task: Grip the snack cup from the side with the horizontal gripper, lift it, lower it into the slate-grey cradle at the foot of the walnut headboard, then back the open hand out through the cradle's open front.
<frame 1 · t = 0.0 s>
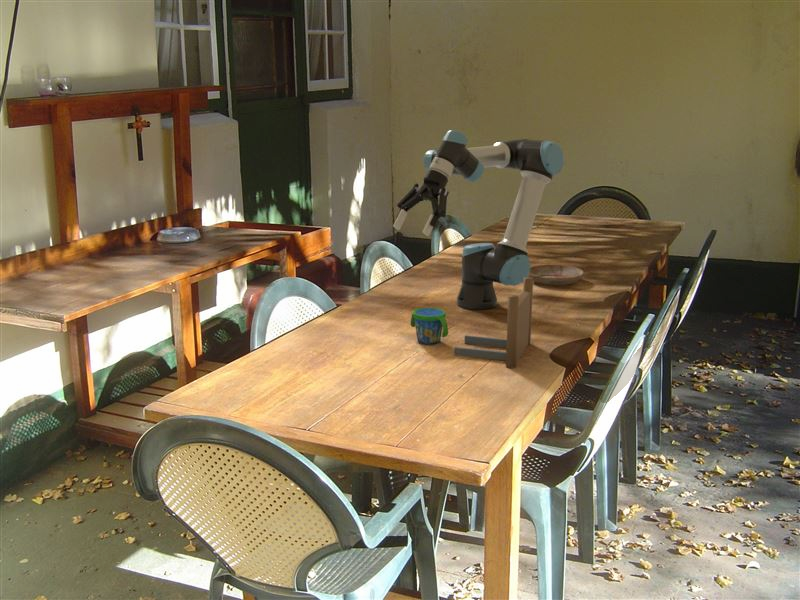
hand: (410, 231, 300), 36 cm above the table, tool tilted 35°, fingers open, 13 cm apart
snack cup: (428, 342, 306), on the table
headboard cradle: (485, 351, 296), on the table
ceramic bowl: (554, 282, 385), on the table
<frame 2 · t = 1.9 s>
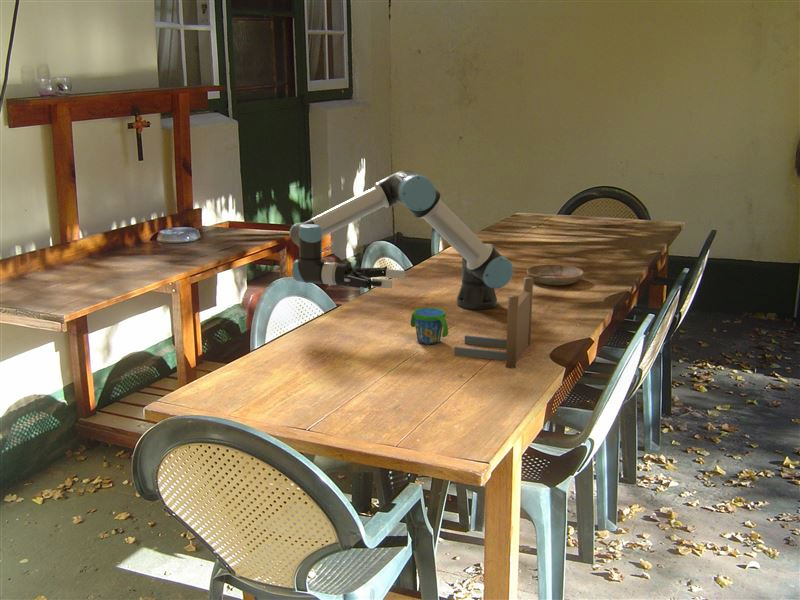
hand: (398, 279, 304), 20 cm above the table, tool horizontal, fingers open, 13 cm apart
nothing on the table moved.
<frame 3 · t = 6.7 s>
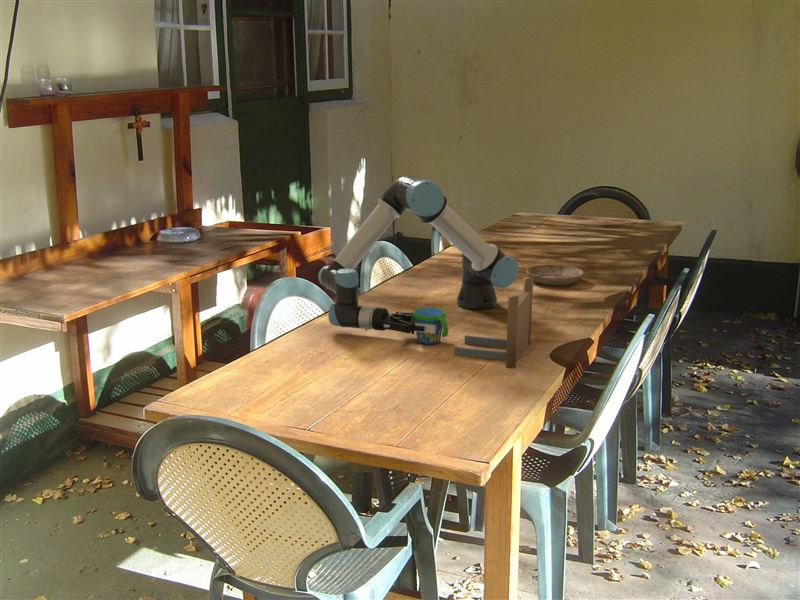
hand: (439, 324, 303), 6 cm above the table, tool horizontal, fingers closed on snack cup, 9 cm apart
snack cup: (428, 342, 306), on the table, touching gripper
everything else where it was.
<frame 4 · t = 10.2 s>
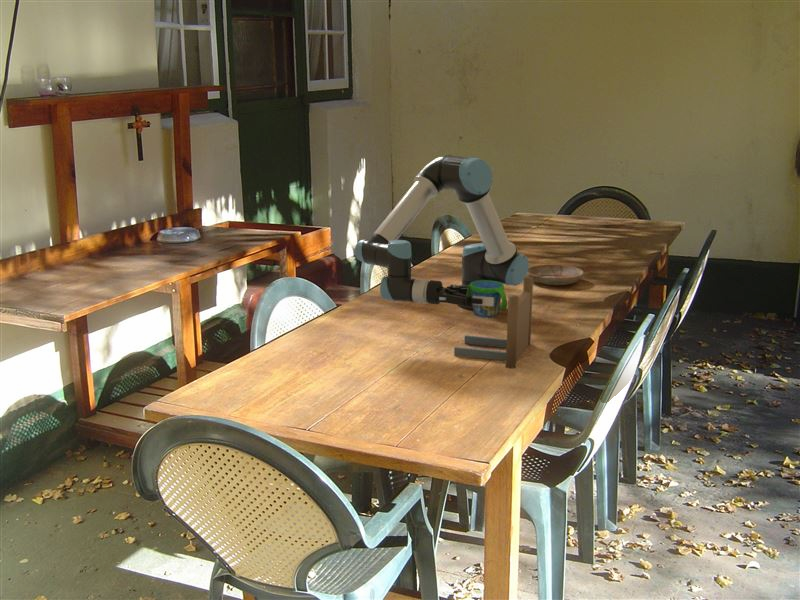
hand: (497, 297, 290), 18 cm above the table, tool horizontal, fingers closed on snack cup, 9 cm apart
snack cup: (485, 316, 293), point 12 cm above the table, touching gripper
everything else where it was.
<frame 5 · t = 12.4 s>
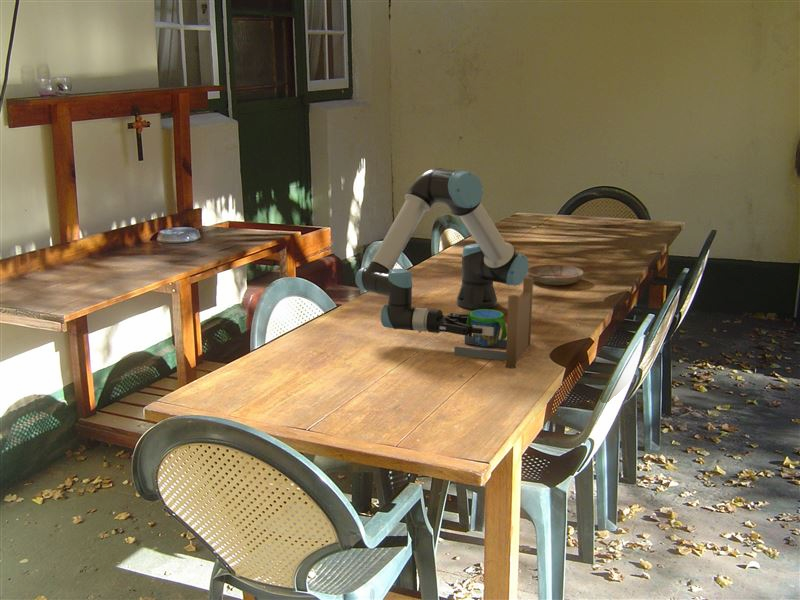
hand: (496, 327, 293), 8 cm above the table, tool horizontal, fingers closed on snack cup, 9 cm apart
snack cup: (485, 345, 295), point 2 cm above the table, touching gripper
everything else where it was.
when the fingers open (7 cm above the table, at t = 13.7 s): snack cup moves 3 cm, on the table.
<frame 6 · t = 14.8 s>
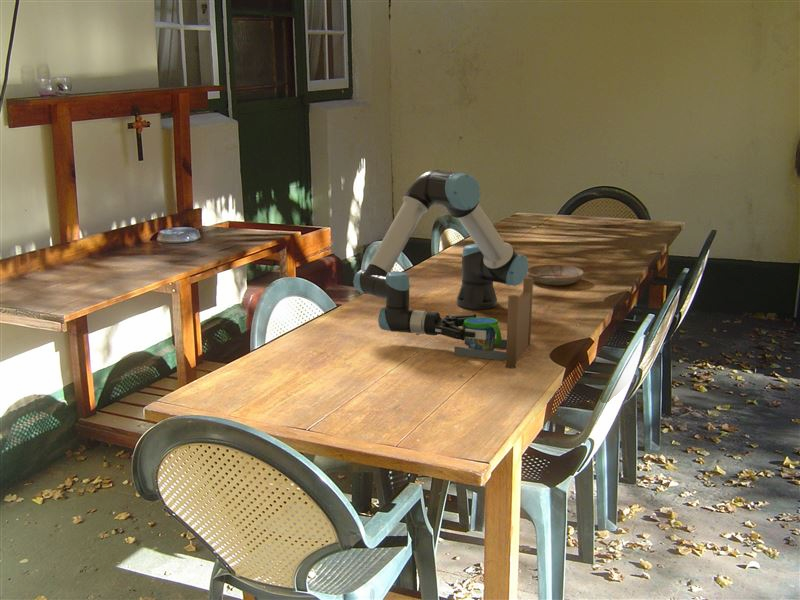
hand: (491, 329, 294), 8 cm above the table, tool horizontal, fingers open, 13 cm apart
snack cup: (481, 352, 294), on the table, touching gripper
everything else where it was.
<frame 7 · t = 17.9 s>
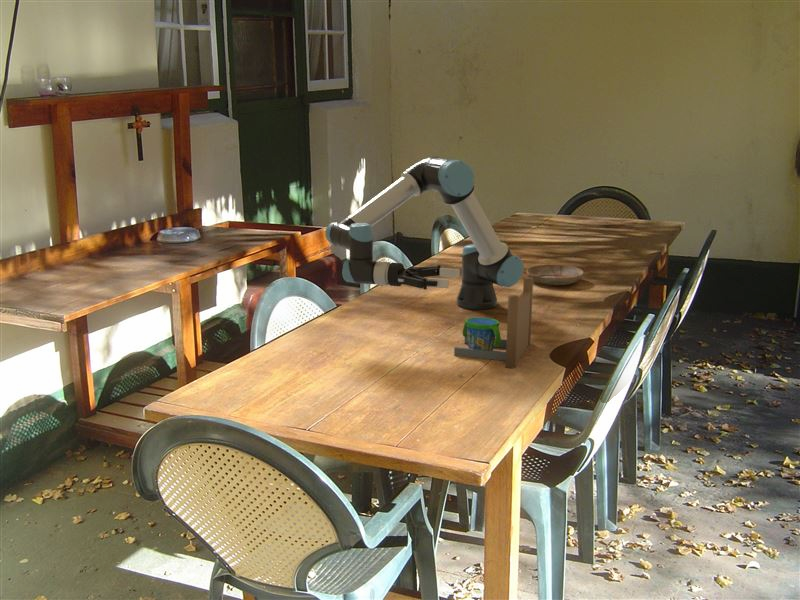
hand: (454, 278, 293), 23 cm above the table, tool horizontal, fingers open, 13 cm apart
snack cup: (480, 352, 294), on the table, touching headboard cradle
everything else where it was.
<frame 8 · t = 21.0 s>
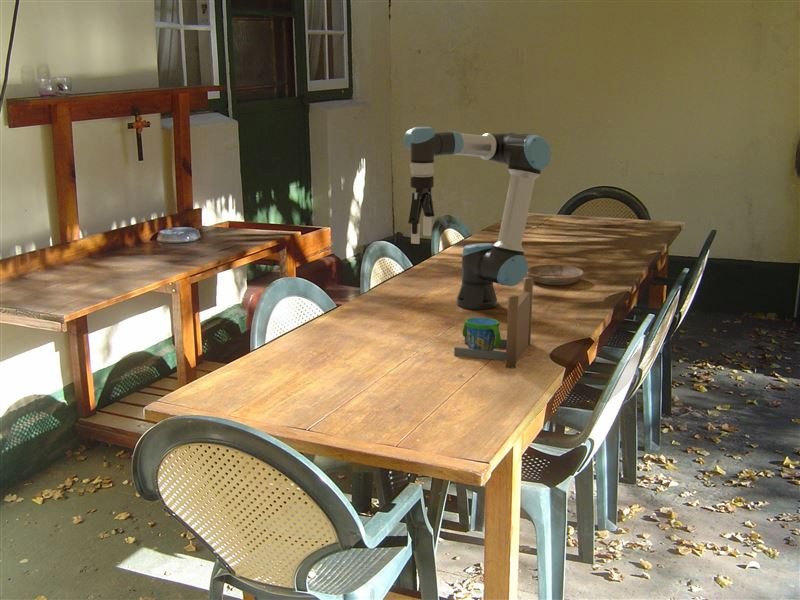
hand: (421, 239, 308), 32 cm above the table, tool pointing down, fingers open, 13 cm apart
nothing on the table moved.
at the end: snack cup 2.5 cm off-centre on the headboard cradle, point 0.1 cm above the headboard cradle's base; snack cup tilted 4°; the gripper is holding nothing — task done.
